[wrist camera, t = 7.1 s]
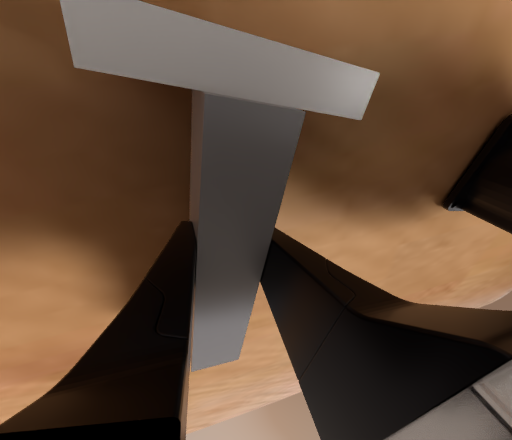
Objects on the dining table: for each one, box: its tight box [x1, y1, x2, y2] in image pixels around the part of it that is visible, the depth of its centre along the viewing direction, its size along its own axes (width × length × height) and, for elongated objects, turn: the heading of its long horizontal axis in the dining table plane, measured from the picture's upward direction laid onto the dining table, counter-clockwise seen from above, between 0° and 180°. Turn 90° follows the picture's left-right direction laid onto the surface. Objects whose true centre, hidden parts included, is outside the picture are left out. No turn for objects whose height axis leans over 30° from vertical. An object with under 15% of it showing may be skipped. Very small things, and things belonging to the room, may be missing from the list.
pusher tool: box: [60, 0, 380, 372], centre depth 9 cm, size 13×7×3 cm, turn 169°
